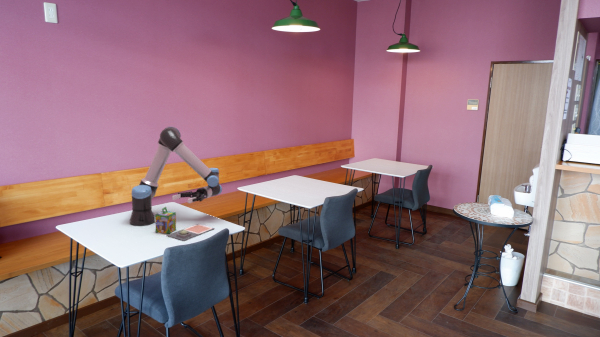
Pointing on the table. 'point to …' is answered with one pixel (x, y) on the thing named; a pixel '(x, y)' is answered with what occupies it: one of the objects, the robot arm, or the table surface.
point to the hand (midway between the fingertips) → (180, 199)
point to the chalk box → (165, 221)
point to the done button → (183, 232)
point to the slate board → (191, 232)
